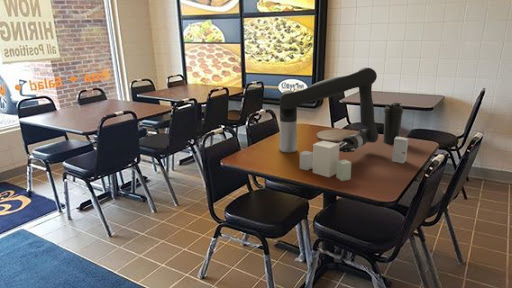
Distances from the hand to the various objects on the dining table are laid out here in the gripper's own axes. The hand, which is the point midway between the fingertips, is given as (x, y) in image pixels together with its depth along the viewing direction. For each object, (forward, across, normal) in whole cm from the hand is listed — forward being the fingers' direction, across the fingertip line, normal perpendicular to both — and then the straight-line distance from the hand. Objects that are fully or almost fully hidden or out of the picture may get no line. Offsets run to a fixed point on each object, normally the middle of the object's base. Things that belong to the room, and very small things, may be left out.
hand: (333, 151), depth 174 cm
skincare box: (-30, +20, +9) cm, 37 cm away
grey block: (+8, -10, +9) cm, 16 cm away
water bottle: (-58, +2, +9) cm, 59 cm away
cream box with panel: (+6, 0, +9) cm, 11 cm away
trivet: (-48, -28, +10) cm, 57 cm away
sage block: (+7, +10, +9) cm, 15 cm away
